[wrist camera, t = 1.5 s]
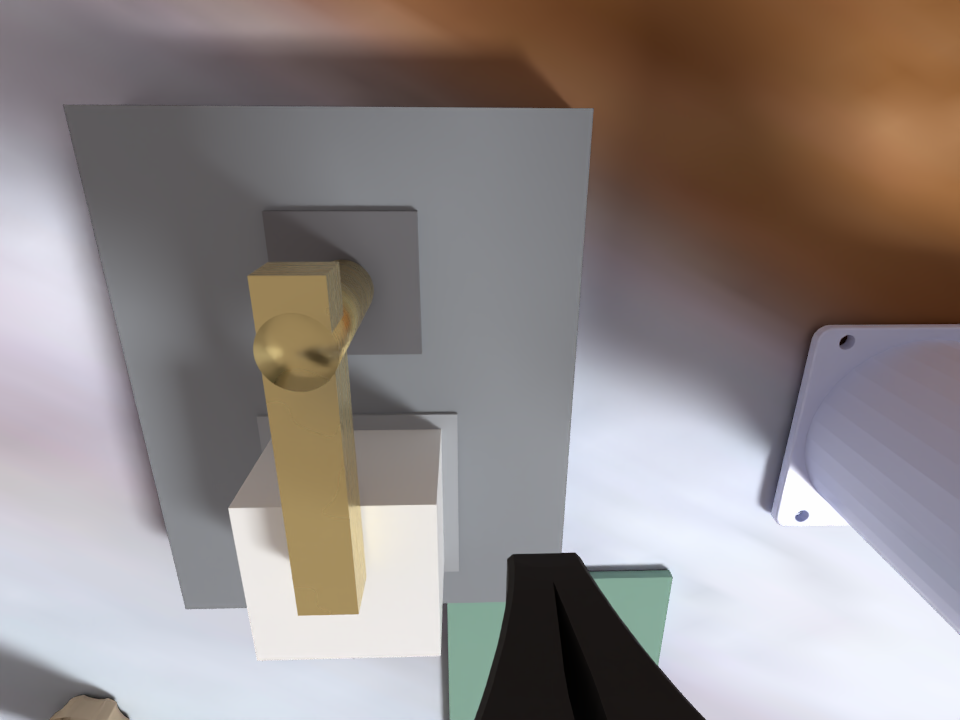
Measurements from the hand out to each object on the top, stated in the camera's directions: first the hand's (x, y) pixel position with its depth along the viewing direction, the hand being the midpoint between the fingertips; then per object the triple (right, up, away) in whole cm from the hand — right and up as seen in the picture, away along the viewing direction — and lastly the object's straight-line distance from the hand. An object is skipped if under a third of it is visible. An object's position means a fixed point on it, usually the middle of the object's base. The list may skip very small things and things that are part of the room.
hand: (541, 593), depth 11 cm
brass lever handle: (-5, +4, +5) cm, 8 cm away
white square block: (-5, 0, +7) cm, 9 cm away
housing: (-5, +4, +8) cm, 11 cm away
